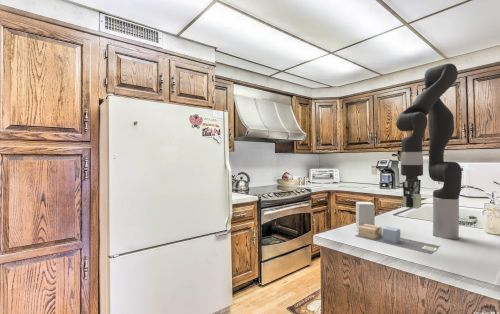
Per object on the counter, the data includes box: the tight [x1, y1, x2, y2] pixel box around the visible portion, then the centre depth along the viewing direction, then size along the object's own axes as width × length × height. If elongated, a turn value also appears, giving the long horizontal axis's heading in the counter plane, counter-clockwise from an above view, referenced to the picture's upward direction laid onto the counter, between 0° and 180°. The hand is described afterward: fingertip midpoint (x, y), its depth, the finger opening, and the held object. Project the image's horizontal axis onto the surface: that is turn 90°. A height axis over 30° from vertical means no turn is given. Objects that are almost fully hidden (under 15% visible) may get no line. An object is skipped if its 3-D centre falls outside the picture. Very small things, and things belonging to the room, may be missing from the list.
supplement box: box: [355, 201, 376, 230], centre depth 131 cm, size 7×7×13 cm
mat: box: [354, 233, 441, 255], centre depth 111 cm, size 12×29×1 cm, turn 42°
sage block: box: [402, 192, 422, 209], centre depth 105 cm, size 5×5×5 cm
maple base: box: [358, 224, 382, 239], centre depth 118 cm, size 7×7×4 cm
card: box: [422, 246, 438, 253], centre depth 101 cm, size 4×4×1 cm
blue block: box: [382, 225, 401, 243], centre depth 111 cm, size 5×5×5 cm
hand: (412, 206), depth 105 cm, fingers closed on sage block, 5 cm apart
